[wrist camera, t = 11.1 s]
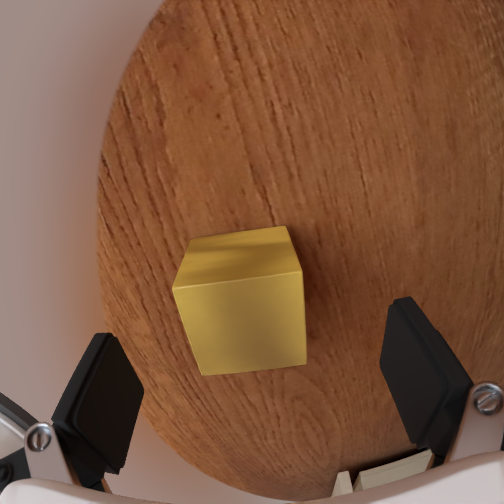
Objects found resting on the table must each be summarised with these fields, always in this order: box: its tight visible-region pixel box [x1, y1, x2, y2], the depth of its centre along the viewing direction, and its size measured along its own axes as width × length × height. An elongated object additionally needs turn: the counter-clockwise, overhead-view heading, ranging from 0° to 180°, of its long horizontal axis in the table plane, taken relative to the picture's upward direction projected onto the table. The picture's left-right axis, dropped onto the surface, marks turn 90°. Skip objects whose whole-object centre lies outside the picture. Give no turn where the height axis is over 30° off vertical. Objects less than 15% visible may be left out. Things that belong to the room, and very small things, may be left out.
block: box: [172, 226, 307, 375], centre depth 13 cm, size 4×4×4 cm
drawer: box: [331, 449, 432, 497], centre depth 24 cm, size 20×12×8 cm, turn 98°
